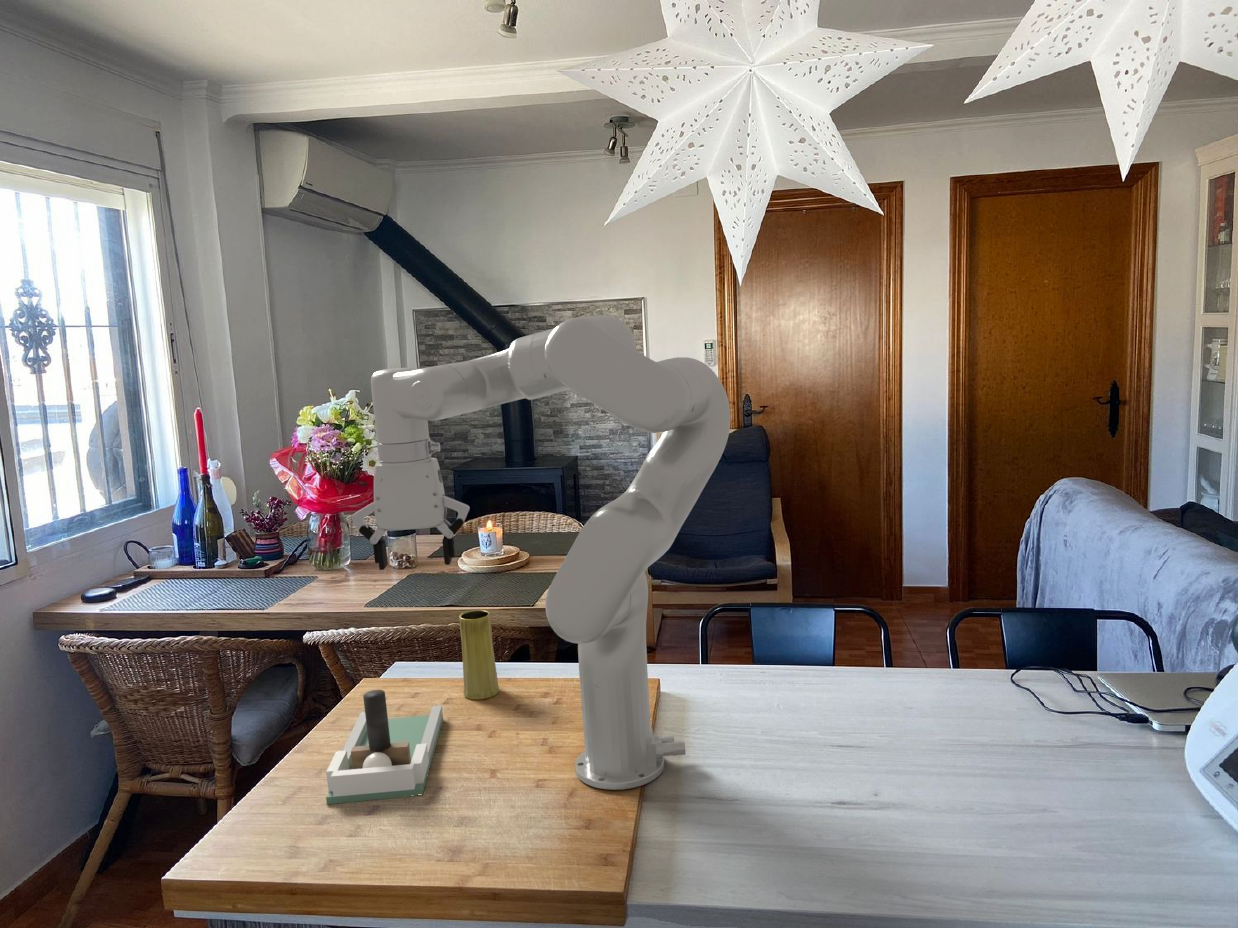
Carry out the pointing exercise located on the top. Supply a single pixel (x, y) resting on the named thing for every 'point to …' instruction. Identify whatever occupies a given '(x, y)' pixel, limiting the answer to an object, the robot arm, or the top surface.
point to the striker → (379, 734)
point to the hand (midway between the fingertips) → (416, 564)
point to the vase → (478, 655)
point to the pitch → (388, 779)
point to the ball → (377, 760)
